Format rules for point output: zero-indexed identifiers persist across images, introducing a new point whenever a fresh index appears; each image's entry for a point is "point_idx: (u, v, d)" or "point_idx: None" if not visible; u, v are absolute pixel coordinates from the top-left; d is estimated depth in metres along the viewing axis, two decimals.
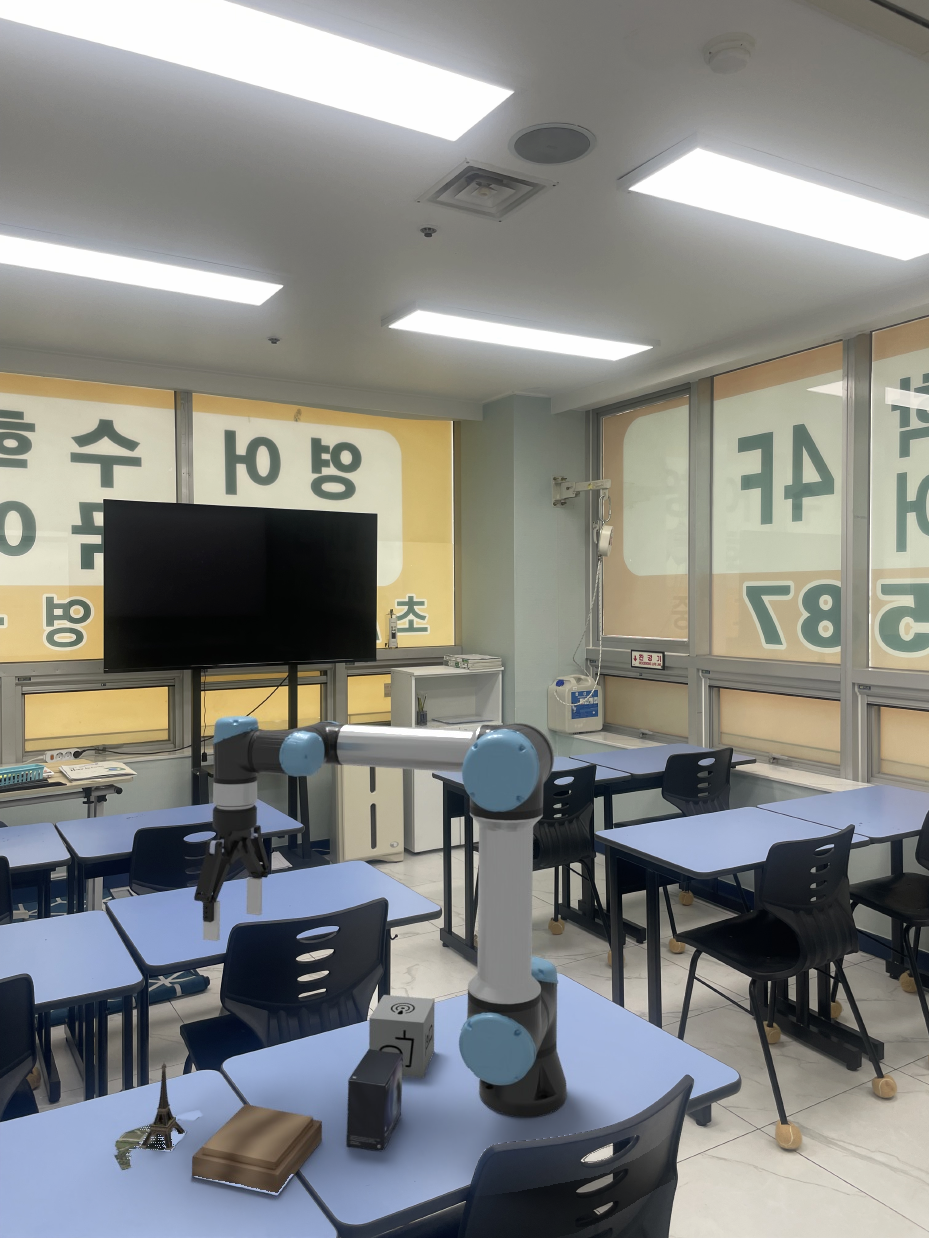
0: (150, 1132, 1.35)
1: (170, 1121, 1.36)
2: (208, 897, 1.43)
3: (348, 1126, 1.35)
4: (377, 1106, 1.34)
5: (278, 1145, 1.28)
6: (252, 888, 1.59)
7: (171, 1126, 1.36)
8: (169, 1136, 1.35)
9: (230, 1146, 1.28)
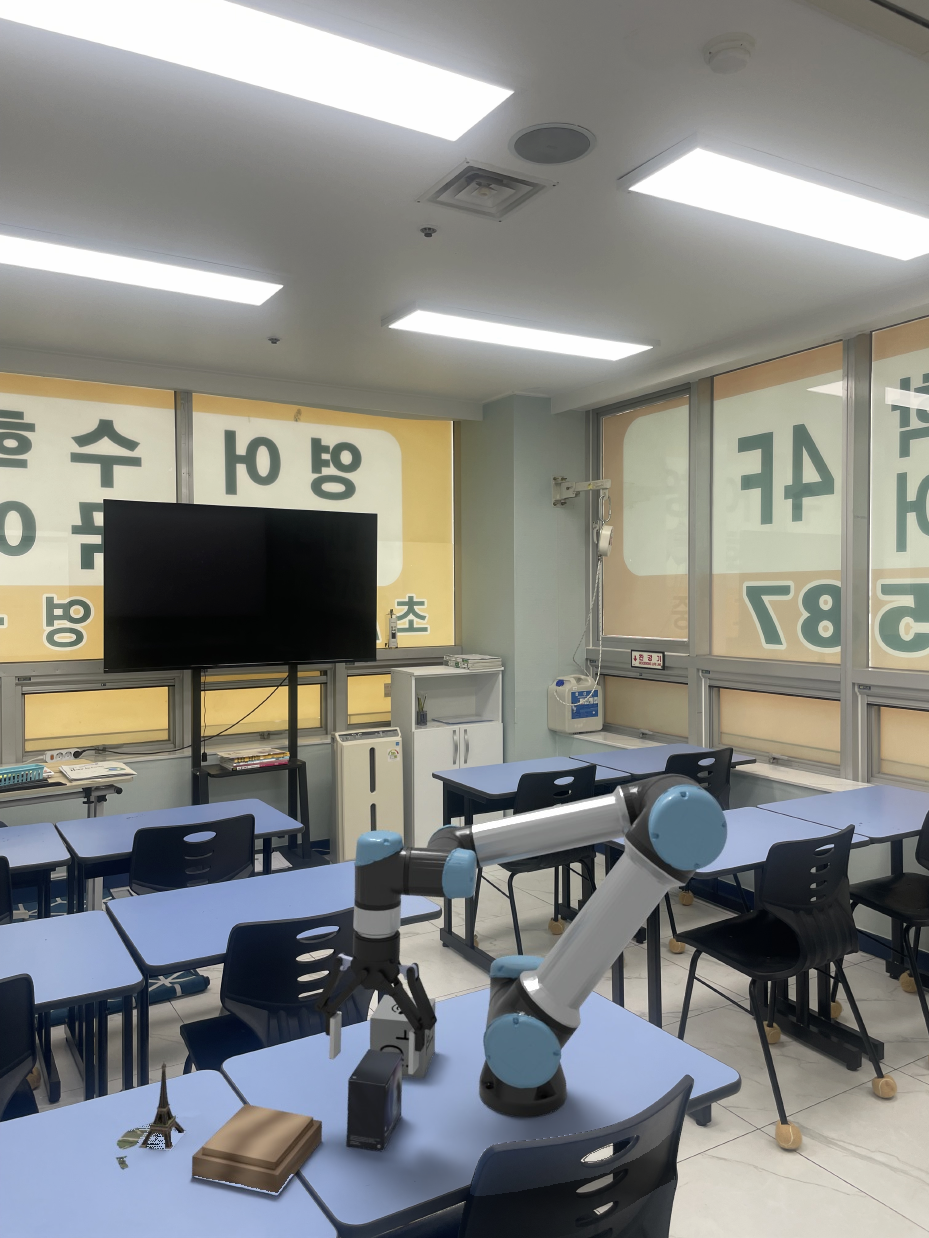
0: (150, 1131, 1.35)
1: (170, 1121, 1.36)
2: (316, 1006, 1.41)
3: (348, 1126, 1.35)
4: (377, 1106, 1.34)
5: (278, 1145, 1.28)
6: None
7: (171, 1126, 1.36)
8: (169, 1136, 1.35)
9: (230, 1146, 1.28)
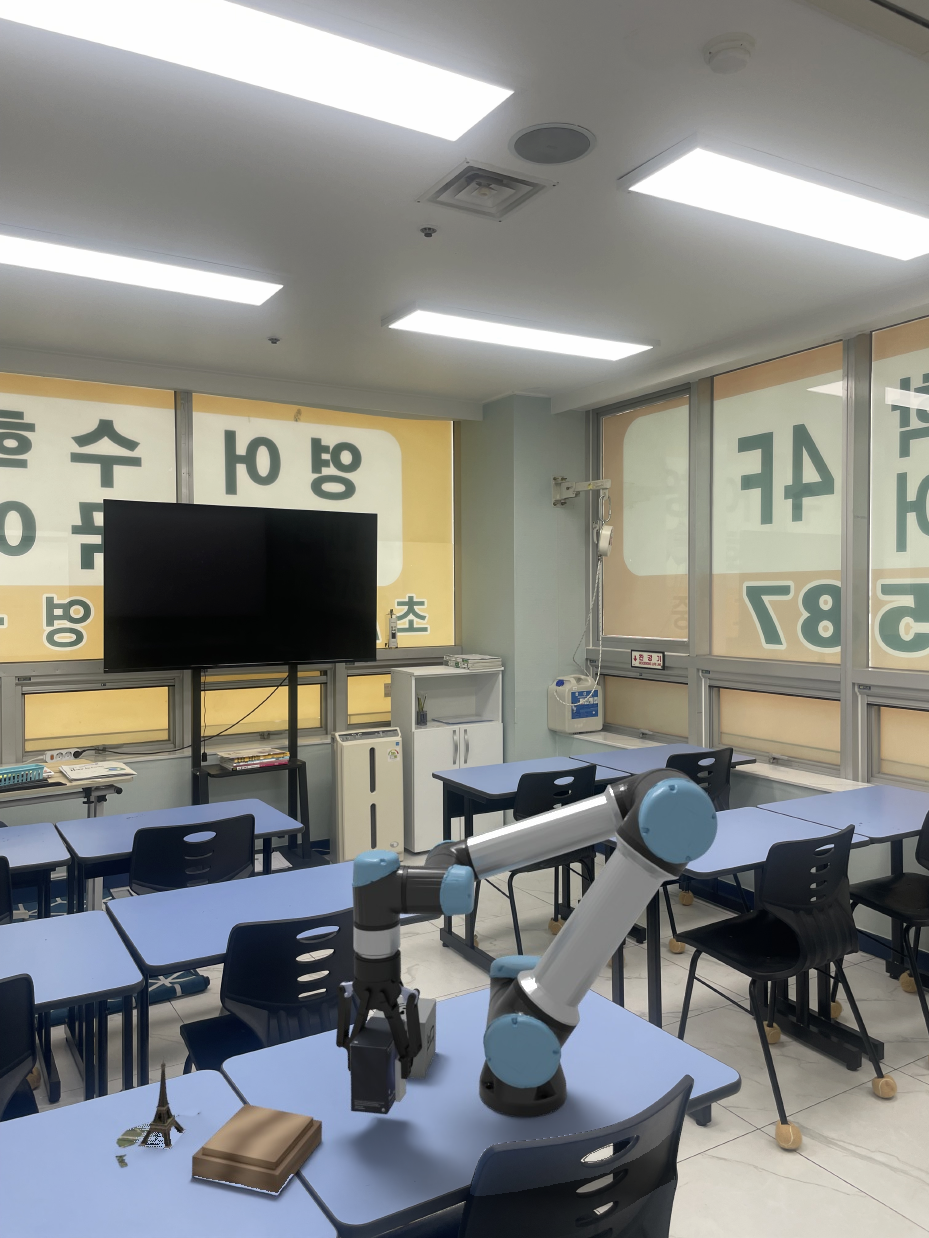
0: (149, 1130, 1.35)
1: (169, 1119, 1.37)
2: (337, 1042, 1.40)
3: (352, 1091, 1.35)
4: (380, 1070, 1.34)
5: (278, 1145, 1.28)
6: None
7: (170, 1124, 1.36)
8: (168, 1134, 1.35)
9: (230, 1146, 1.28)
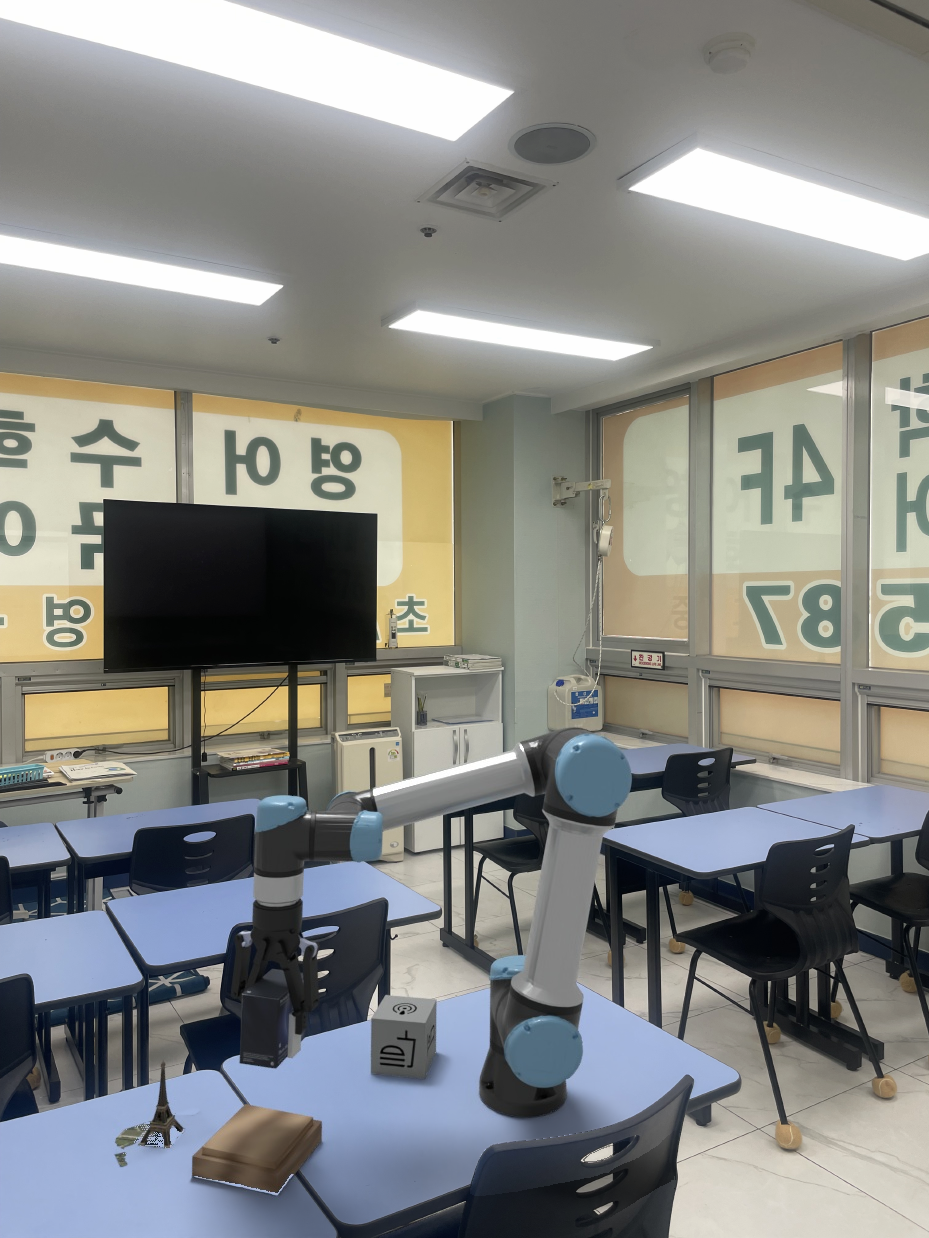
0: (149, 1129, 1.36)
1: (169, 1119, 1.37)
2: (232, 993, 1.34)
3: (241, 1043, 1.29)
4: (271, 1022, 1.28)
5: (278, 1145, 1.28)
6: None
7: (170, 1124, 1.37)
8: (168, 1134, 1.35)
9: (230, 1146, 1.28)
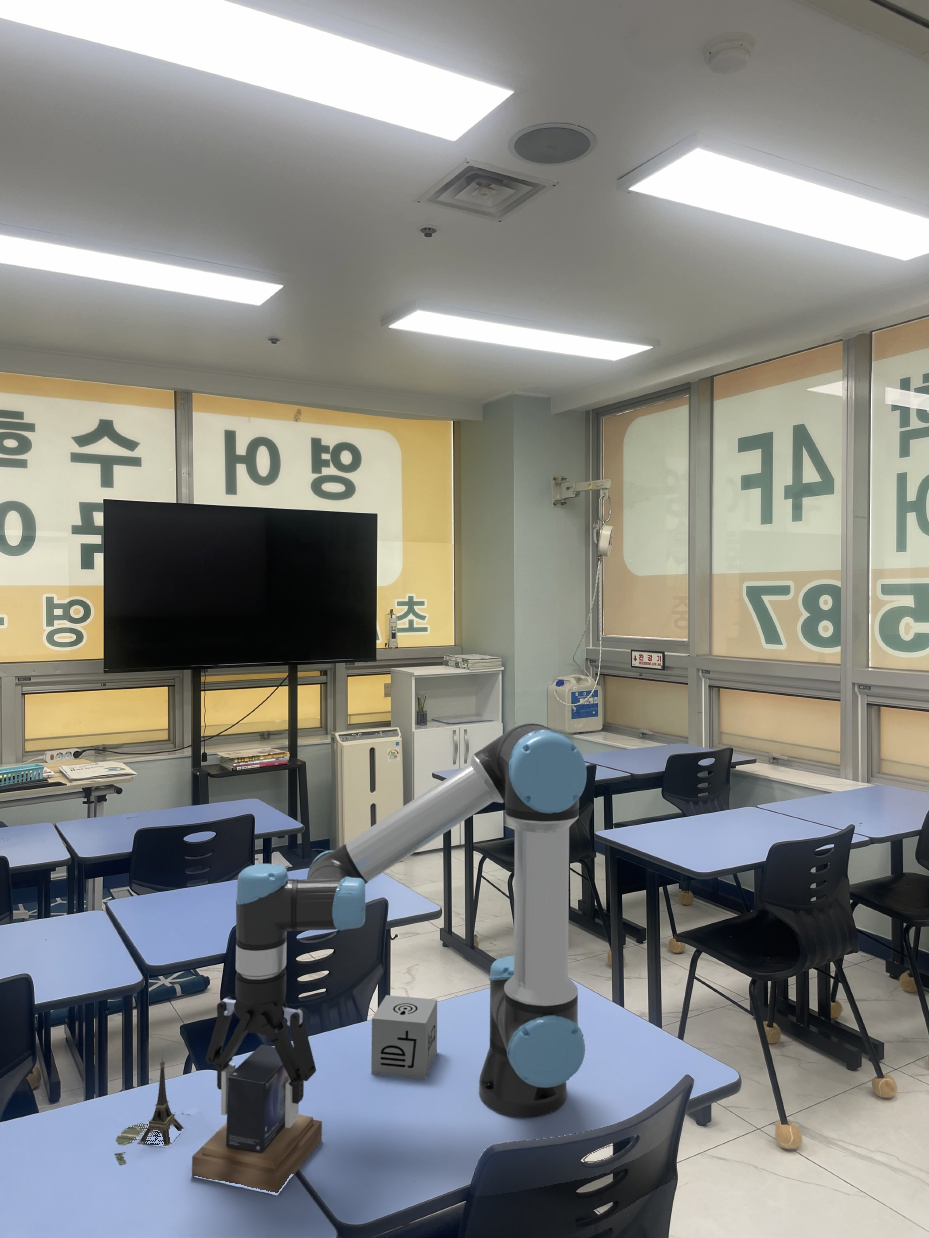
0: (148, 1128, 1.36)
1: (168, 1118, 1.37)
2: (207, 1058, 1.33)
3: (227, 1125, 1.28)
4: (256, 1105, 1.27)
5: (278, 1145, 1.28)
6: None
7: (169, 1123, 1.37)
8: (167, 1133, 1.36)
9: None
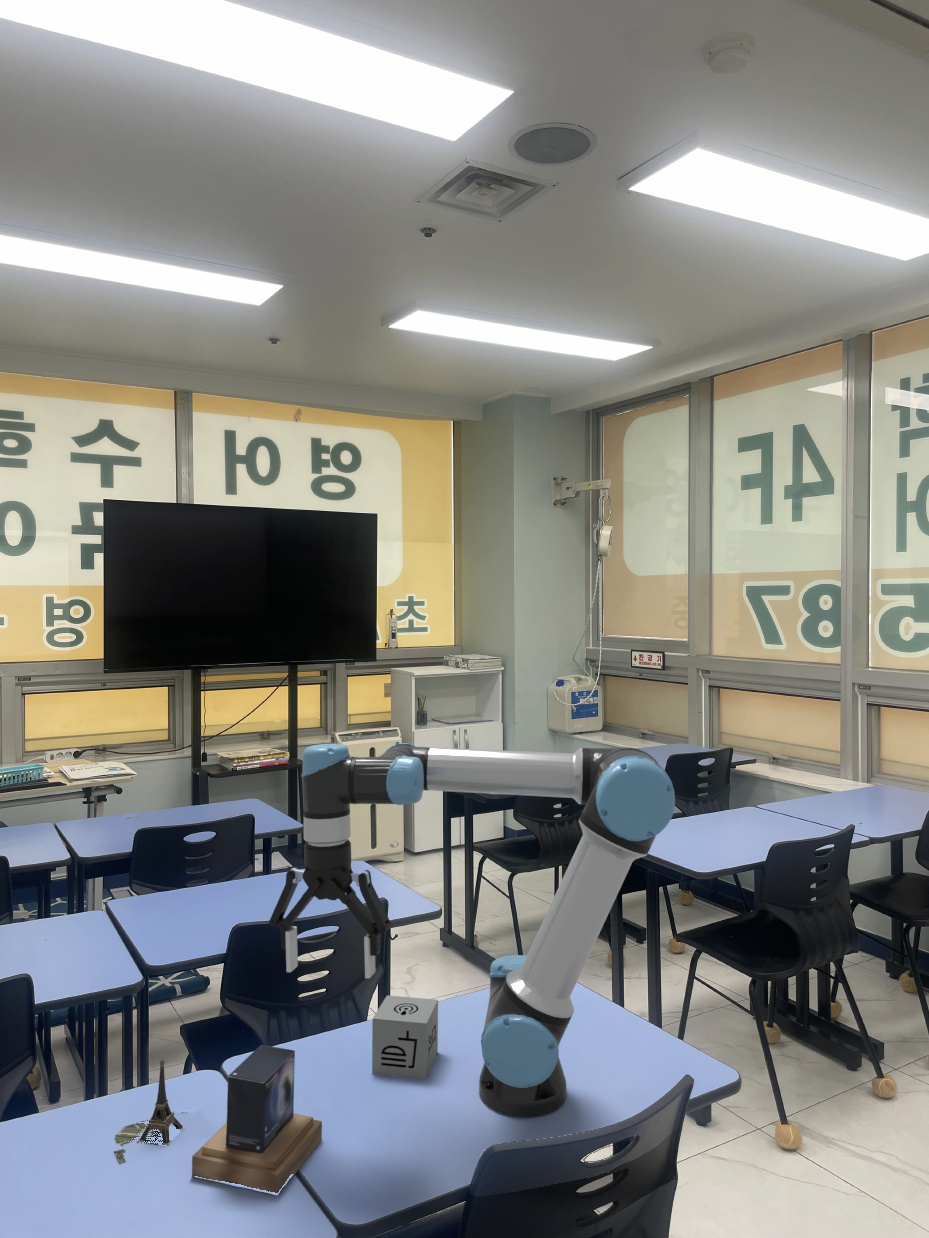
0: (148, 1127, 1.36)
1: (168, 1117, 1.38)
2: (271, 921, 1.42)
3: (227, 1125, 1.28)
4: (256, 1105, 1.27)
5: (278, 1145, 1.28)
6: None
7: (169, 1122, 1.37)
8: (166, 1131, 1.36)
9: None
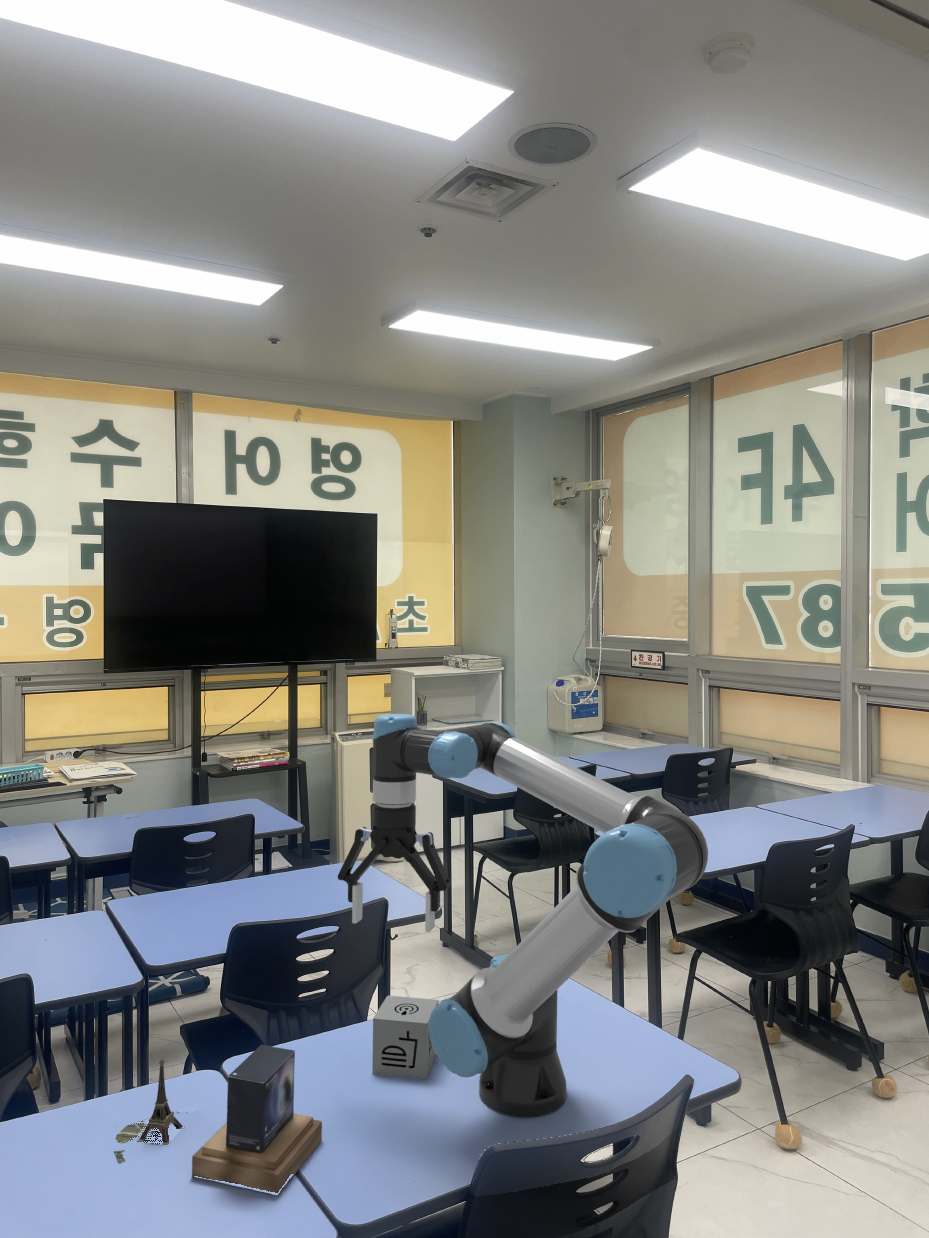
0: (148, 1126, 1.36)
1: (168, 1116, 1.38)
2: (339, 875, 1.53)
3: (227, 1125, 1.28)
4: (256, 1105, 1.27)
5: (278, 1145, 1.28)
6: None
7: (169, 1121, 1.37)
8: (166, 1131, 1.36)
9: None
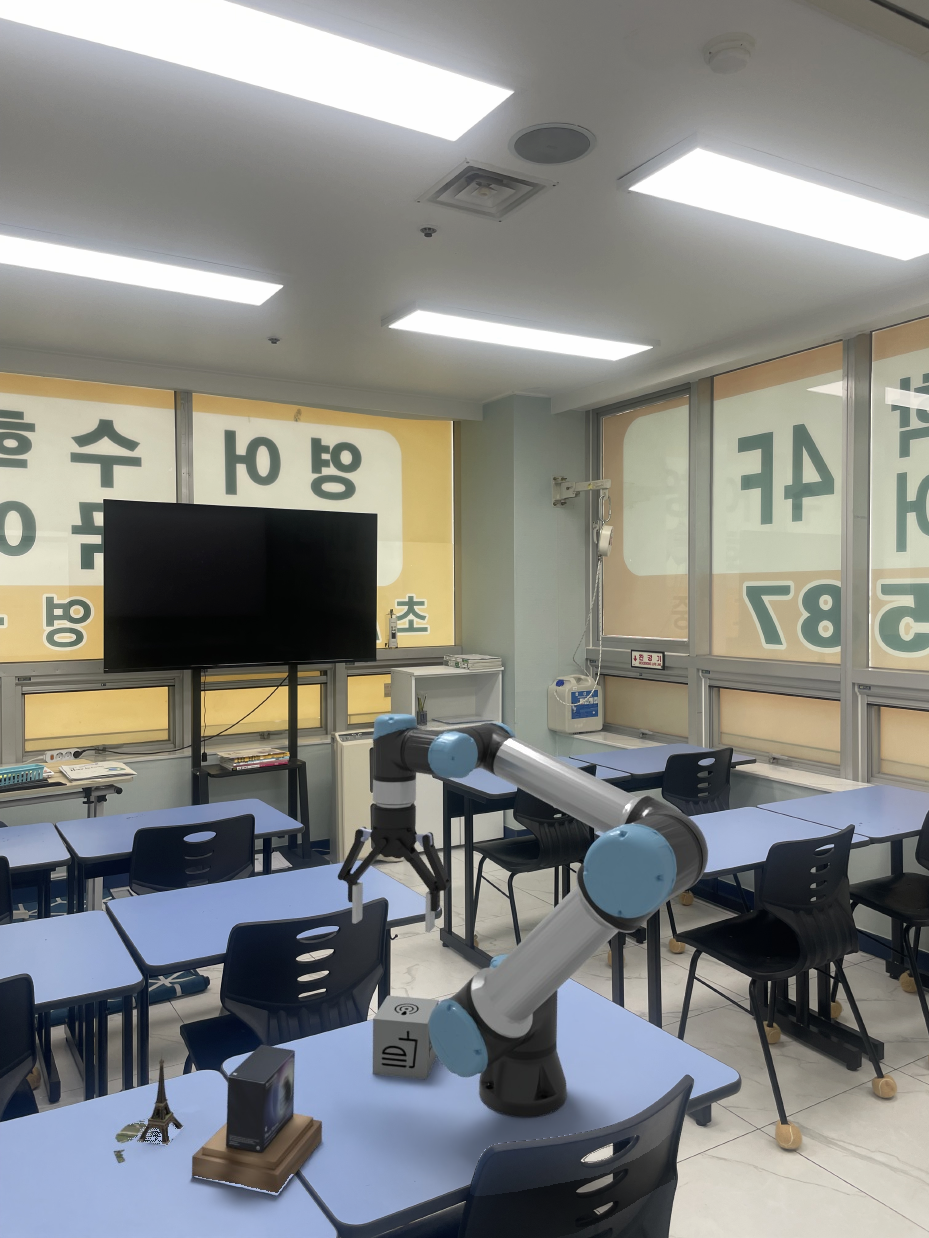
0: (148, 1126, 1.37)
1: (167, 1116, 1.38)
2: (339, 875, 1.53)
3: (227, 1125, 1.28)
4: (256, 1105, 1.27)
5: (278, 1145, 1.28)
6: None
7: (168, 1121, 1.38)
8: (166, 1130, 1.36)
9: None
